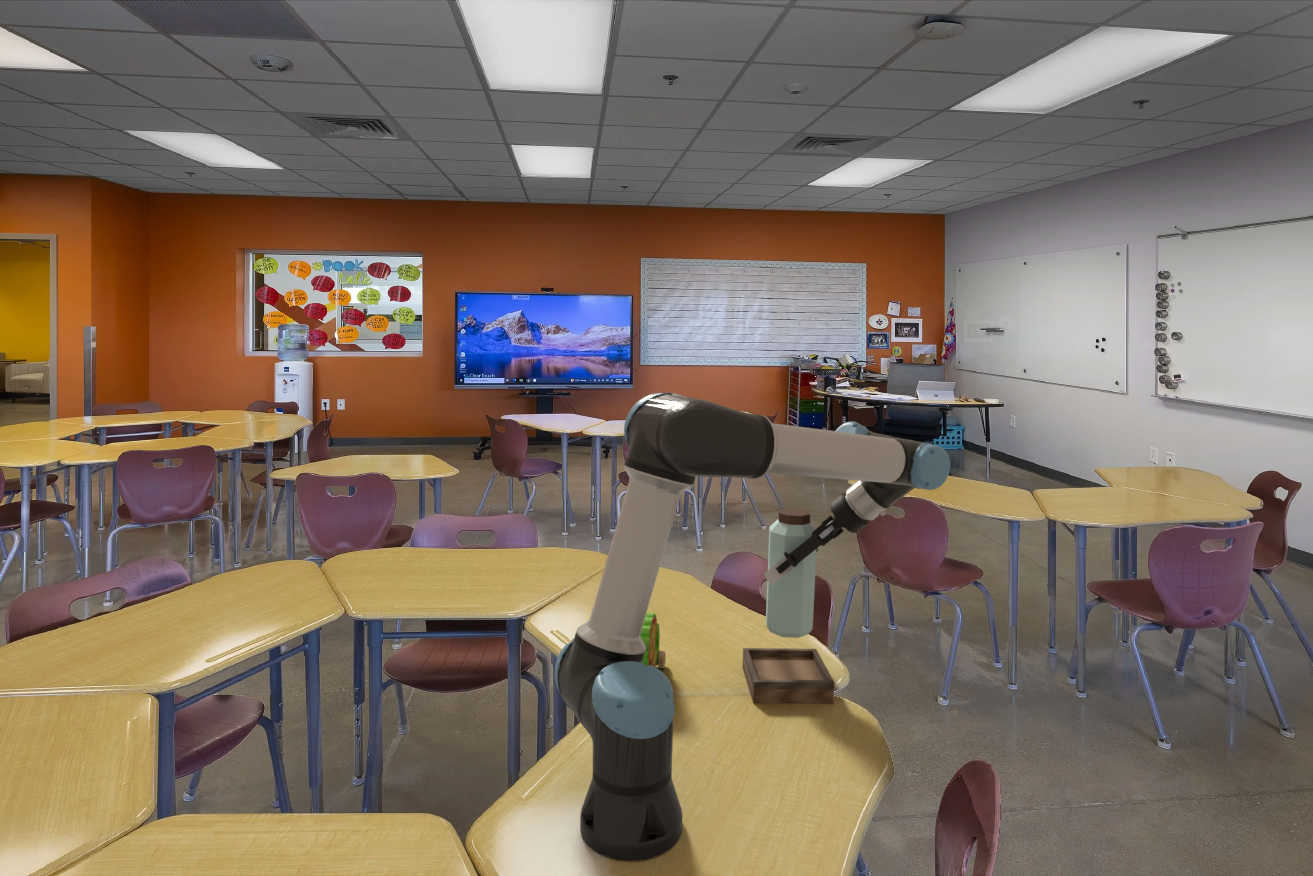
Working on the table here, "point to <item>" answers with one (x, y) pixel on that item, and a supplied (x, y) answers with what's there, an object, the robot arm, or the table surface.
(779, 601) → the water bottle
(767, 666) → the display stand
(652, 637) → the toy lion
